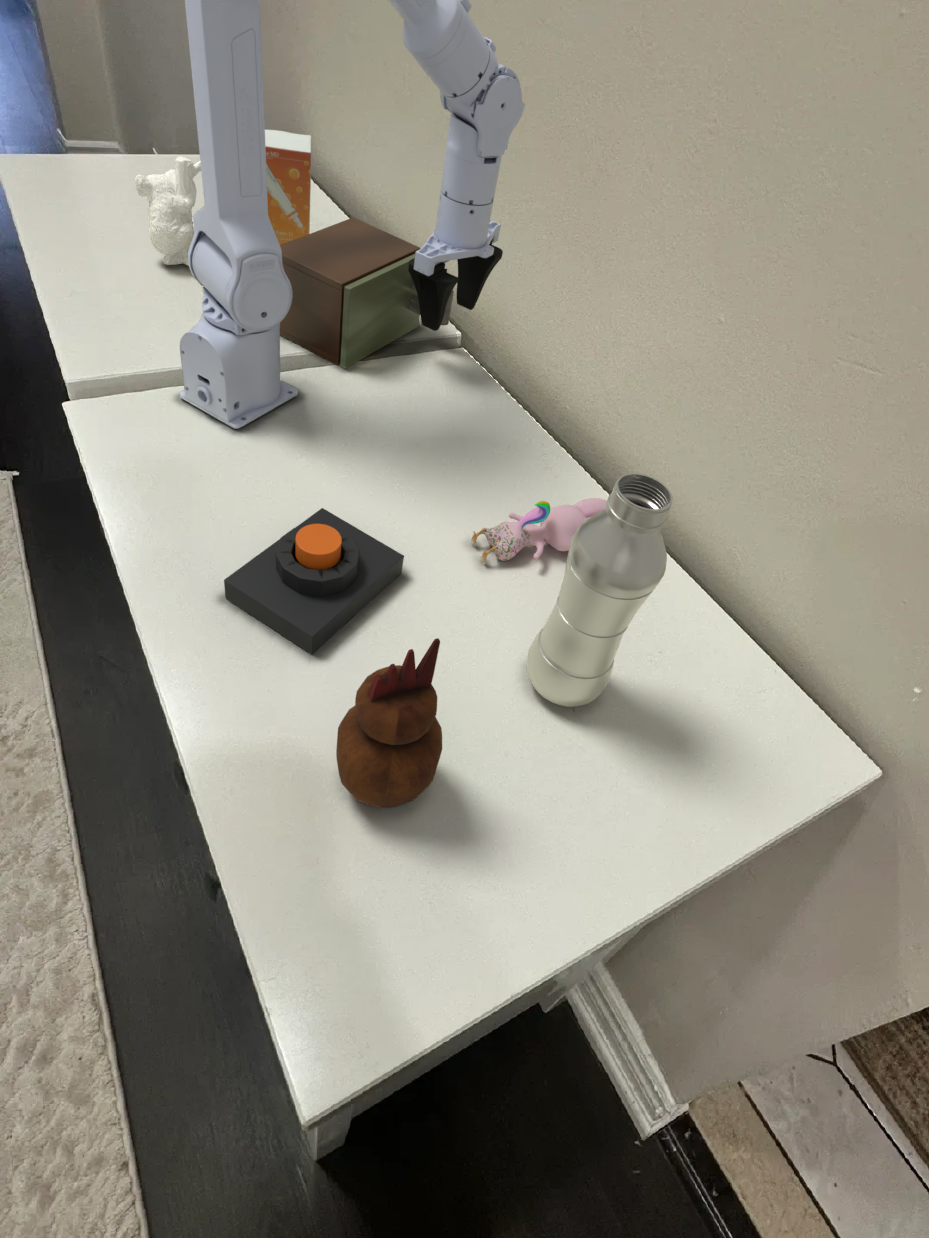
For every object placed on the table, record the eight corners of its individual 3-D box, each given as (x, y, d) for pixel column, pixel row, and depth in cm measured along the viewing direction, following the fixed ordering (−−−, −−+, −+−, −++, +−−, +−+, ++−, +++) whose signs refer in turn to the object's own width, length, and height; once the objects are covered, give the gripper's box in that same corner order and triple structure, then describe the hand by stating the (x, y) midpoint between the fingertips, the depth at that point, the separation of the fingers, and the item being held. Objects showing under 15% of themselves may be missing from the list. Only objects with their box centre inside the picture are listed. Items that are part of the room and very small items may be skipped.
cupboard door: (452, 343, 95) (465, 269, 88) (382, 387, 86) (389, 308, 79) (413, 324, 97) (422, 249, 90) (339, 365, 88) (344, 286, 81)
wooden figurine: (430, 749, 56) (465, 612, 45) (430, 822, 52) (468, 692, 41) (337, 743, 55) (348, 602, 44) (330, 817, 51) (341, 683, 40)
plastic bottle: (549, 639, 65) (624, 445, 50) (615, 686, 63) (714, 497, 48) (504, 681, 61) (571, 484, 47) (572, 733, 59) (665, 543, 44)
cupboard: (411, 324, 97) (421, 247, 90) (338, 366, 88) (342, 284, 81) (349, 294, 99) (353, 217, 92) (271, 331, 90) (269, 248, 83)
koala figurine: (208, 248, 101) (200, 147, 93) (220, 272, 98) (213, 169, 89) (140, 249, 98) (125, 145, 89) (150, 274, 94) (136, 168, 86)
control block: (311, 654, 60) (312, 621, 57) (225, 598, 62) (222, 563, 59) (401, 573, 67) (406, 540, 64) (321, 526, 70) (322, 491, 67)
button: (321, 577, 60) (321, 561, 59) (285, 555, 61) (285, 539, 60) (349, 553, 63) (350, 537, 61) (315, 533, 64) (315, 517, 62)
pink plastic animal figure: (488, 588, 70) (634, 547, 73) (491, 542, 65) (646, 501, 69) (464, 542, 73) (603, 504, 77) (465, 495, 69) (613, 458, 72)
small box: (248, 251, 103) (243, 142, 93) (250, 230, 107) (246, 125, 97) (309, 257, 104) (311, 152, 95) (309, 237, 109) (311, 134, 99)
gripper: (461, 225, 75) (442, 351, 85) (532, 192, 84) (507, 310, 94) (403, 199, 77) (391, 326, 87) (478, 170, 86) (459, 288, 96)
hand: (448, 316), depth 91 cm, fingers open, 7 cm apart
